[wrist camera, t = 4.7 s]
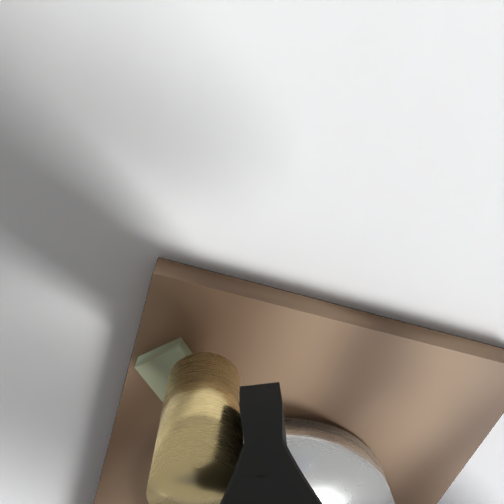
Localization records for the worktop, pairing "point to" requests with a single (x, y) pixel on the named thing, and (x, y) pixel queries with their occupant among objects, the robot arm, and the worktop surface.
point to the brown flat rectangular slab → (311, 378)
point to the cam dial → (231, 442)
